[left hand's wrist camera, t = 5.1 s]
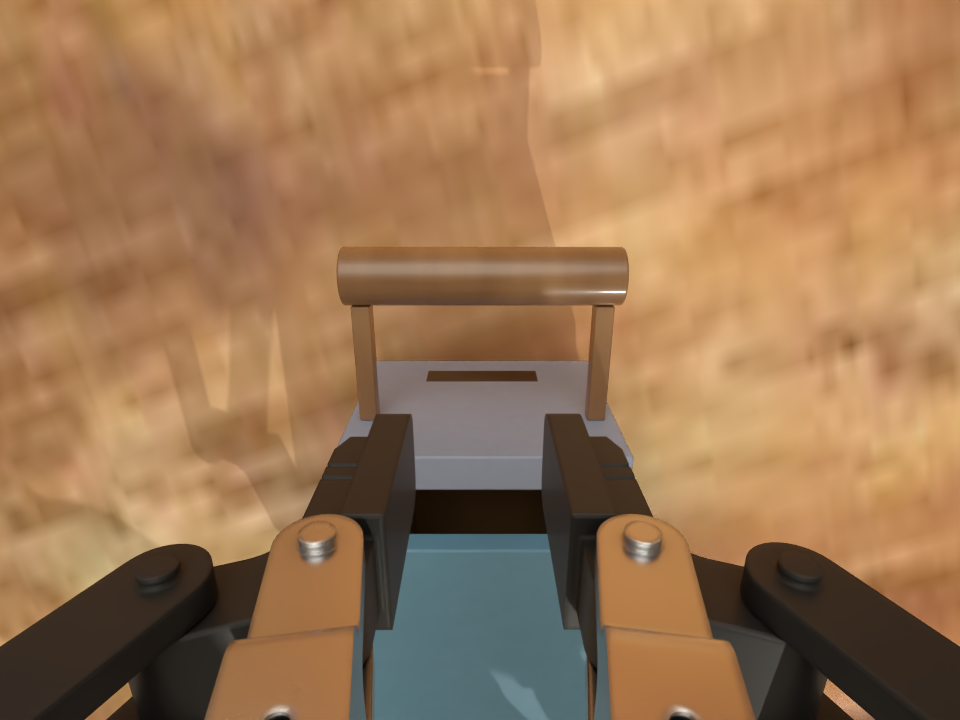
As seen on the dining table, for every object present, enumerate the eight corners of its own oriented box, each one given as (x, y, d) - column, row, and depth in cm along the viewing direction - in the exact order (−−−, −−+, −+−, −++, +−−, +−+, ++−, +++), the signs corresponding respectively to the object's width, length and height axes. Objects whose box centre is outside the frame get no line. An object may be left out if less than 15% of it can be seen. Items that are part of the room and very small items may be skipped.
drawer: (366, 223, 23) (311, 265, 15) (597, 222, 23) (655, 265, 15) (398, 685, 32) (373, 855, 24) (564, 685, 32) (589, 855, 24)
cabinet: (370, 407, 27) (312, 550, 17) (593, 407, 27) (653, 550, 17) (394, 719, 34) (362, 936, 25) (568, 719, 34) (601, 936, 25)
